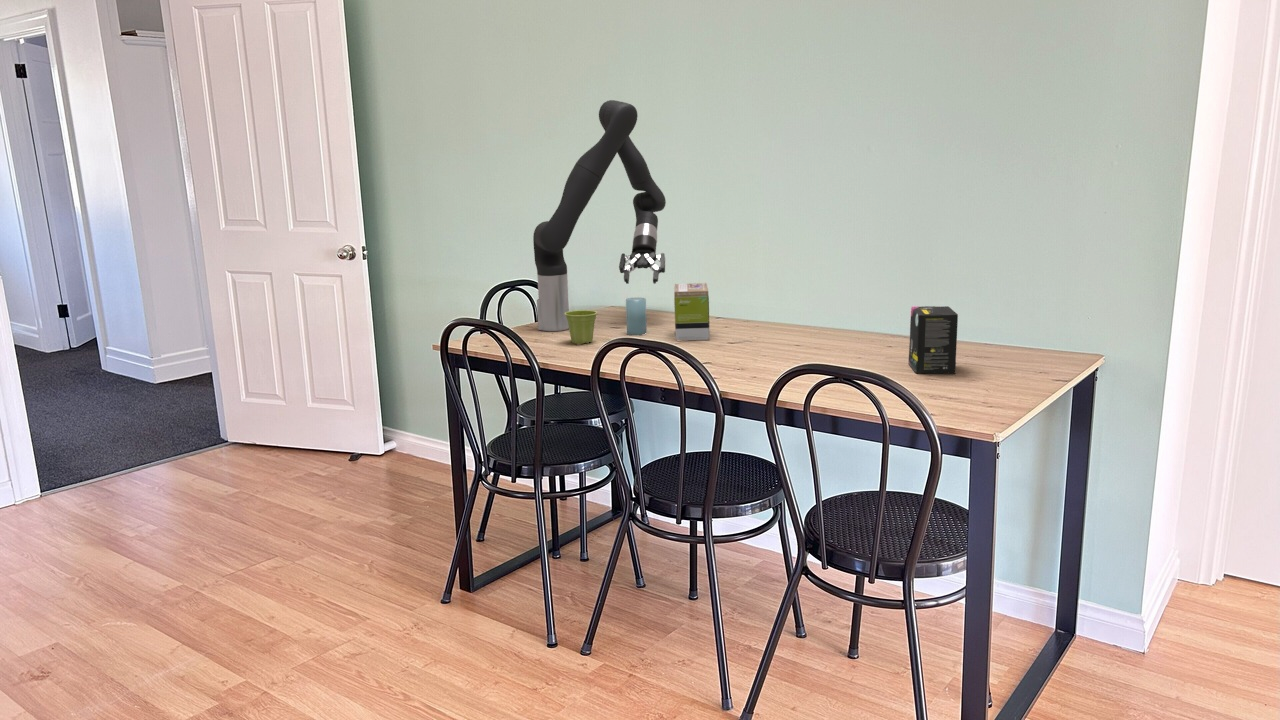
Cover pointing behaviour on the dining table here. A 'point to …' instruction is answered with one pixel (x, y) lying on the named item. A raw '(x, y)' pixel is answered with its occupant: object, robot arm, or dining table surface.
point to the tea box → (691, 311)
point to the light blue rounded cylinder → (636, 316)
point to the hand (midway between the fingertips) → (640, 282)
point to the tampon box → (933, 340)
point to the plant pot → (581, 325)
